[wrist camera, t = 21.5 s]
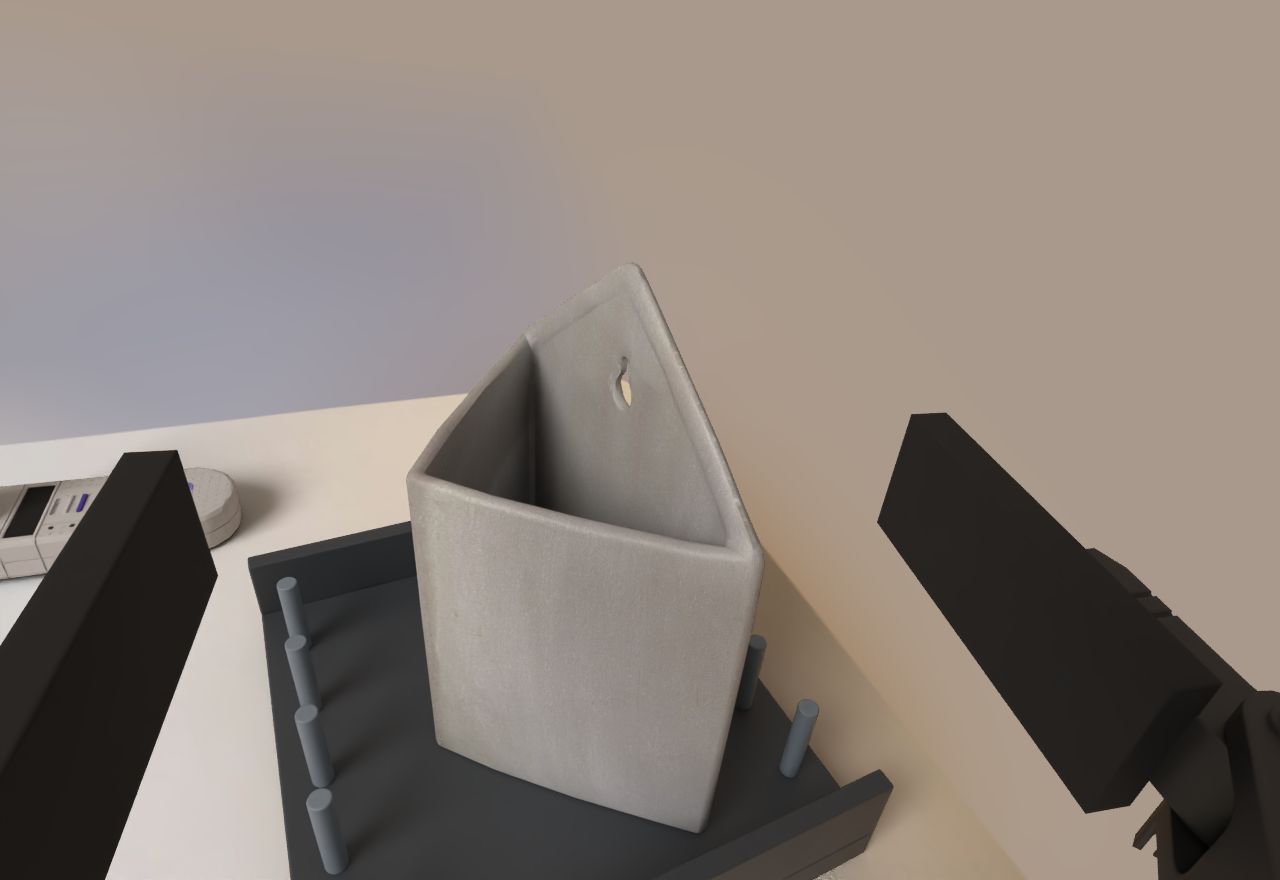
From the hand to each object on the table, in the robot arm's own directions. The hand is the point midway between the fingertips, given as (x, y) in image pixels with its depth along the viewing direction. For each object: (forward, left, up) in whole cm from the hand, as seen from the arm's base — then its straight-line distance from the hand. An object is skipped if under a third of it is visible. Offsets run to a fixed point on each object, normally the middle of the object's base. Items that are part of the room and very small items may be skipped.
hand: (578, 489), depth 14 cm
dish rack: (-3, -9, -21) cm, 23 cm away
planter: (-2, -9, -19) cm, 22 cm away
